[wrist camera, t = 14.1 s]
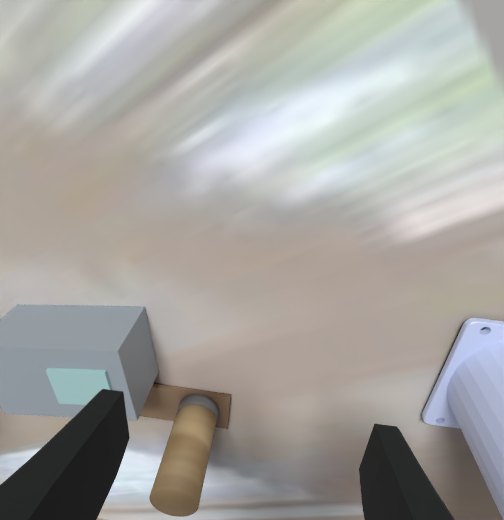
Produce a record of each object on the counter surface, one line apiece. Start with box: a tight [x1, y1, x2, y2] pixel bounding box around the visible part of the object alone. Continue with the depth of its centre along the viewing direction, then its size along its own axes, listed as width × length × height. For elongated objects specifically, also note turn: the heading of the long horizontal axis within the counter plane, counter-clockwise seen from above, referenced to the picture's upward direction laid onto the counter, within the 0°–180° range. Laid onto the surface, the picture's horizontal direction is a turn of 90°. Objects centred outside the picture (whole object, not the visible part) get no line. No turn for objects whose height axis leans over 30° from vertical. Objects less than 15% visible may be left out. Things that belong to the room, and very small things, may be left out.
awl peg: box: [150, 394, 219, 516], centre depth 22 cm, size 3×3×6 cm
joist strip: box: [139, 383, 231, 429], centre depth 25 cm, size 16×3×1 cm, turn 85°
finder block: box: [0, 305, 159, 421], centre depth 21 cm, size 8×5×4 cm, turn 93°
